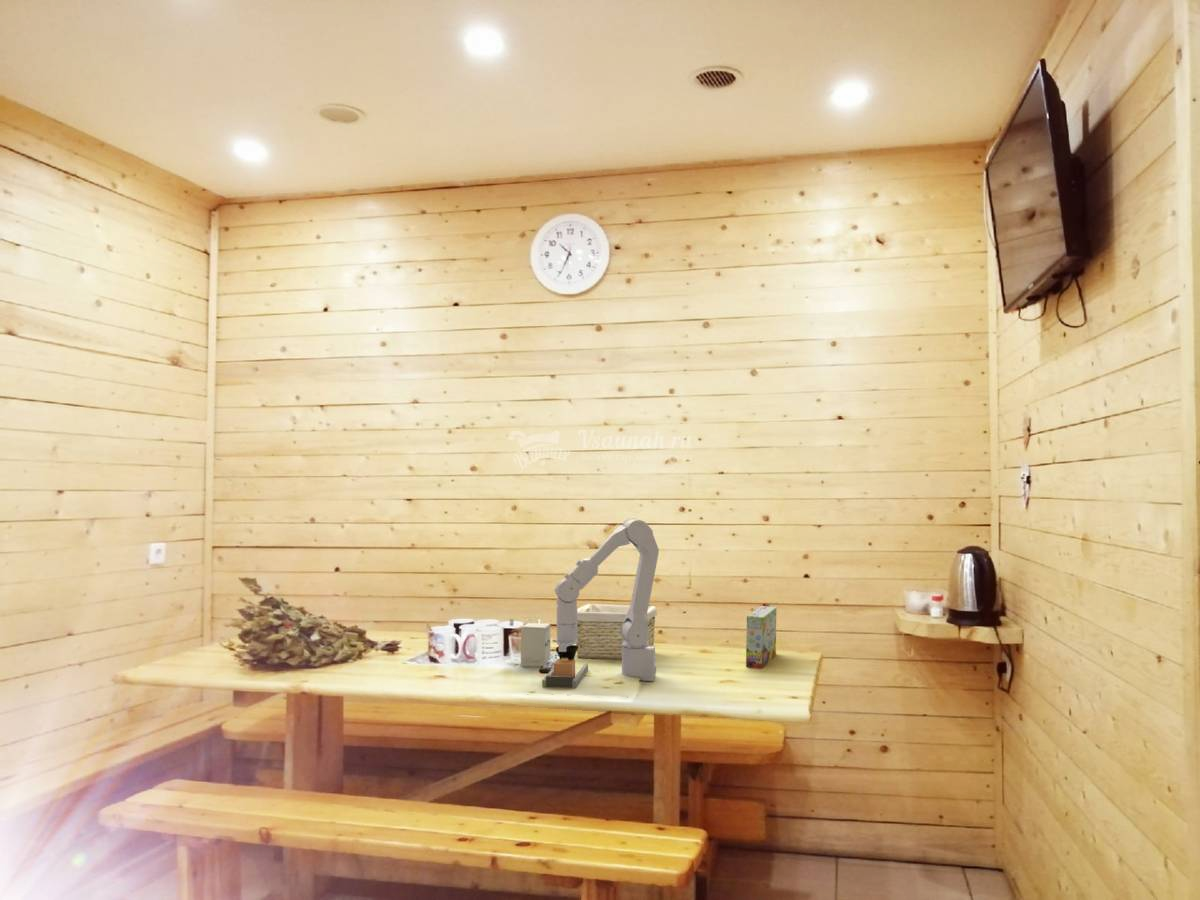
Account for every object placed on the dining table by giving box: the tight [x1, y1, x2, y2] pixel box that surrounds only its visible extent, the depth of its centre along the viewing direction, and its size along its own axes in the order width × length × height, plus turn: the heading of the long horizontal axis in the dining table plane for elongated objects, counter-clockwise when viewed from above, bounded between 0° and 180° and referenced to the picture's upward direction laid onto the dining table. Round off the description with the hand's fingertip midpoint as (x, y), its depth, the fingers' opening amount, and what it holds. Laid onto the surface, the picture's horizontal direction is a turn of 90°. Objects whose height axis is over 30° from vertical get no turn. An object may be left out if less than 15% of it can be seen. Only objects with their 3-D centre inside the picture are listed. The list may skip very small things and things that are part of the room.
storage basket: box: [575, 603, 658, 661], centre depth 268 cm, size 24×16×15 cm
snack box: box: [745, 605, 777, 669], centre depth 259 cm, size 21×6×15 cm, turn 158°
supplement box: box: [520, 622, 551, 668], centre depth 251 cm, size 7×7×13 cm
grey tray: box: [541, 663, 589, 689], centre depth 233 cm, size 12×20×4 cm, turn 172°
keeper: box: [553, 658, 576, 679], centre depth 231 cm, size 5×5×6 cm
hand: (567, 672), depth 235 cm, fingers closed
